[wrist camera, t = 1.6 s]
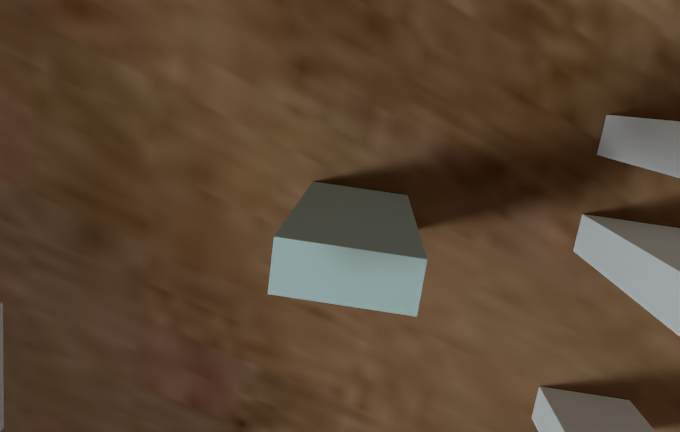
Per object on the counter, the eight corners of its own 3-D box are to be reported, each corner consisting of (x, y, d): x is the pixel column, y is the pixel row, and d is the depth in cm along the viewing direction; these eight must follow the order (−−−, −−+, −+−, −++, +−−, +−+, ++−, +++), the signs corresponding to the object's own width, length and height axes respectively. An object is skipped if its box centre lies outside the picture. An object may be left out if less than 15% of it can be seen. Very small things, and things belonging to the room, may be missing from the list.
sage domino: (312, 181, 28) (273, 236, 17) (407, 195, 28) (427, 259, 17) (308, 218, 29) (267, 294, 18) (401, 231, 28) (417, 316, 18)
